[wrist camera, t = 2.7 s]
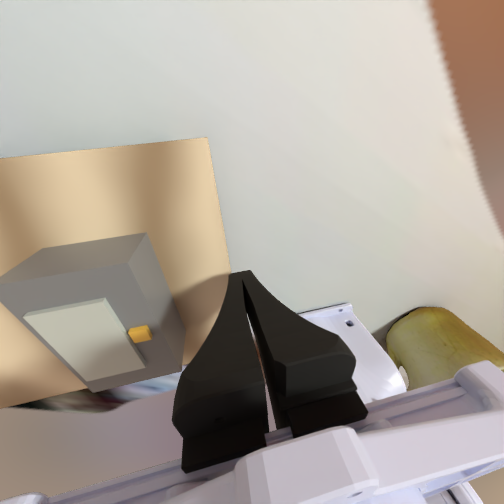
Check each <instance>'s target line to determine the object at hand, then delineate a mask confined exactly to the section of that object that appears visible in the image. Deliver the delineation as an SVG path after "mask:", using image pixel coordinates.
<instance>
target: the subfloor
mask: <svg viewBox="0 0 504 504" xmlns="http://www.w3.org/2000/svg"><path fill="white" fill-rule="evenodd" d="M145 232H147V234H148V236H149V239H150V241H151V244H152V246H153V249H154V251H155V254H156V257H157V259H158V262H159V264H160V267H161V269H162V272H163V274H164V277H165V279H166V282H167V284H168V287H169V289H170V292H171V294H172V297H173V299H174V302H175V304H176V307H177V309H178V312H179V314H180V317H181V319H182V322H183V324H184V327H185V329H186V334H185V344H184V353H183V362H182V365H185V364H189V363H190V362H191V360H192V359H193V358H194V356H195V355H196V353H197V352H198V350H199V349H200V347H201V346H202V344H203V343H204V341H205V340H206V338H207V336H208V334H209V333H210V331H211V329H212V327H213V325H214V323H215V321H216V319H217V317H218V314H219V312H220V309H221V307H222V304H223V301H224V298H225V294H226V290H227V286H228V278H229V277H228V276H229V274H231V268H230V262H229V257H228V251H227V245H226V240H225V234H224V228H223V223H222V217H221V211H220V206H219V200H218V194H217V189H216V183H215V177H214V172H213V166H212V160H211V154H210V149H209V143H208V137H205V138H195V139H186V140H176V141H167V142H157V143H147V144H137V145H128V146H118V147H108V148H98V149H88V150H79V151H69V152H59V153H49V154H39V155H30V156H20V157H10V158H0V277H1V276H2V275H4V274H5V273H7V272H8V271H9V270H11V269H12V268H14V267H15V266H17V265H18V264H20V263H21V262H23V261H24V260H26V259H27V258H29V257H30V256H32V255H33V254H35V253H36V252H38V251H39V250H40V249H42V248H48V247H54V246H61V245H67V244H74V243H80V242H87V241H93V240H99V239H106V238H112V237H119V236H125V235H132V234H138V233H145ZM85 388H88V387H87V386H86V385H85V384H84V383H83V382H82V381H81V380H80V379H79V378H77V377H76V376H75V375H74V374H73V373H72V372H71V371H70V370H69V369H68V368H67V367H66V366H65V365H64V364H63V363H62V362H61V361H60V360H59V359H58V358H57V357H56V356H55V355H54V354H53V353H52V352H51V351H50V350H49V349H48V348H47V347H46V346H45V345H44V344H43V343H42V342H41V341H40V340H39V339H38V338H37V337H36V336H35V335H34V334H33V333H31V332H30V331H29V330H28V329H27V328H26V327H25V326H24V325H23V324H22V323H21V322H20V321H19V320H18V319H17V318H16V317H15V316H14V315H13V314H12V313H11V312H10V311H9V310H8V309H7V308H6V307H5V306H4V305H3V304H2V303H1V302H0V409H1V408H5V407H10V406H14V405H18V404H22V403H26V402H31V401H35V400H39V399H43V398H47V397H51V396H56V395H60V394H64V393H68V392H72V391H76V390H81V389H85Z"/></svg>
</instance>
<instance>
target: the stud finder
mask: <svg viewBox="0 0 504 504" xmlns="http://www.w3.org/2000/svg"><path fill="white" fill-rule="evenodd" d="M0 302H1V303H2V304H3V305H4V306H5V307H6V308H7V309H8V310H9V311H10V312H11V313H12V314H13V315H14V316H15V317H16V318H17V319H18V320H19V321H20V322H21V323H22V324H23V325H24V326H25V327H26V328H27V329H28V330H29V331H30V332H31V333H33V334H34V335H35V336H36V337H37V338H38V339H39V340H40V341H41V342H42V343H43V344H44V345H45V346H46V347H47V348H48V349H49V350H50V351H51V352H52V353H53V354H54V355H55V356H56V357H57V358H58V359H59V360H60V361H61V362H62V363H63V364H64V365H65V366H66V367H67V368H68V369H69V370H70V371H71V372H72V373H73V374H74V375H75V376H76V377H77V378H79V379H80V380H81V381H82V382H83V383H84V384H85V385H86V386H87V387H88V388H89V389H90V390H91V391H92V392H93V393H94V392H98V391H102V390H106V389H111V388H115V387H119V386H123V385H127V384H131V383H135V382H139V381H144V380H148V379H152V378H156V377H160V376H164V375H168V374H172V373H176V372H181V371H182V362H183V353H184V344H185V334H186V329H185V327H184V324H183V322H182V319H181V317H180V314H179V312H178V309H177V307H176V304H175V302H174V299H173V297H172V294H171V292H170V289H169V287H168V284H167V282H166V279H165V277H164V274H163V272H162V269H161V267H160V264H159V262H158V259H157V257H156V254H155V251H154V249H153V246H152V244H151V241H150V239H149V236H148V234H147V232H145V233H138V234H132V235H125V236H119V237H112V238H106V239H99V240H93V241H87V242H80V243H74V244H67V245H61V246H54V247H48V248H42V249H40V250H39V251H38V252H36V253H35V254H33V255H32V256H30V257H29V258H27V259H26V260H24V261H23V262H21V263H20V264H18V265H17V266H15V267H14V268H12V269H11V270H9V271H8V272H7V273H5V274H4V275H2V276H1V277H0Z"/></svg>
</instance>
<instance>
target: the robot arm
mask: <svg viewBox="0 0 504 504" xmlns="http://www.w3.org/2000/svg"><path fill="white" fill-rule="evenodd" d="M228 277H229V278H228V286H227V290H226V294H225V298H224V301H223V304H222V307H221V309H220V312H219V314H218V317H217V319H216V321H215V323H214V325H213V327H212V329H211V331H210V333H209V334H208V336H207V338H206V340H205V341H204V343H203V344H202V346H201V347H200V349H199V350H198V352H197V353H196V355H195V356H194V358H193V359H192V360H191V362H190V363H189V364H188V366H187V367H186V368H185V370H184V371H183V372H182V374H181V376H180V380H179V383H178V386H177V390H176V395H175V399H174V406H173V416H172V422H173V425H174V426H175V427H176V429H177V430H178V432H179V433H180V434H181V436H182V437H183V449H182V450H183V451H182V458H181V459H177V460H174V461H171V462H167V463H164V464H161V465H157V466H154V467H151V468H147V469H144V470H140V471H137V472H133V473H130V474H127V475H123V476H120V477H117V478H113V479H110V480H106V481H103V482H100V483H96V484H93V485H90V486H86V487H83V488H79V489H76V490H73V491H70V492H66V493H62V494H59V495H56V496H52V497H49V498H48V497H47V496H46V495H45V494H42V493H38V492H32V493H25V494H21V495H18V496H14V497H11V498H8V499H4V500H1V501H0V504H483V502H482V501H481V499H480V498H479V496H478V495H477V494H476V492H475V491H474V489H473V488H472V487H471V485H470V484H469V483H468V481H470V480H472V479H475V478H477V477H479V476H482V475H485V474H487V473H490V472H492V471H495V470H498V469H500V468H503V467H504V372H503V371H501V370H500V369H499V368H498V367H496V366H495V365H494V364H492V363H491V362H490V361H488V360H484V361H481V362H477V363H474V364H470V365H467V366H464V367H462V368H461V369H459V370H458V371H457V372H456V374H455V375H454V378H451V379H448V380H444V381H441V382H438V383H434V384H431V385H428V386H424V387H421V388H417V389H414V390H411V391H407V390H406V386H405V384H404V381H403V379H402V377H401V374H400V372H399V371H398V369H397V367H396V365H395V364H394V362H393V361H392V359H391V358H390V357H389V356H388V354H387V353H386V352H385V351H384V350H383V348H382V347H381V346H380V345H379V344H378V342H377V341H376V340H375V339H374V338H373V336H372V335H371V334H370V333H369V332H368V330H367V329H366V328H365V327H364V325H363V324H362V323H361V322H360V321H359V319H358V318H357V317H356V316H355V315H354V313H353V312H352V309H353V306H352V305H351V304H350V303H346V304H342V305H337V306H333V307H328V308H324V309H320V310H315V311H311V312H306V313H302V314H296V313H295V312H293V311H292V310H290V309H289V308H288V307H286V306H285V305H284V304H282V303H281V302H280V301H279V300H277V299H276V298H275V297H274V296H273V295H272V294H271V293H270V292H269V291H268V290H267V289H266V288H265V287H264V286H263V285H262V284H261V283H260V282H259V281H258V279H257V278H256V277H255V276H254V274H253V273H252V271H250V270H247V271H242V272H236V273H231V274H229V276H228ZM247 314H248V317H249V320H250V323H251V326H252V329H253V332H254V335H255V338H256V341H257V345H258V348H259V352H260V356H261V361H262V365H263V369H264V374H265V378H266V383H267V387H268V392H269V396H270V401H271V405H272V410H273V415H274V419H275V423H276V428H277V430H275V431H272V432H269V425H268V411H267V401H266V392H265V383H264V378H263V374H262V370H261V366H260V362H259V359H258V355H257V352H256V348H255V344H254V341H253V337H252V333H251V329H250V326H249V322H248V318H247Z"/></svg>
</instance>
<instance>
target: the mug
mask: <svg viewBox="0 0 504 504" xmlns="http://www.w3.org/2000/svg"><path fill="white" fill-rule="evenodd" d="M386 344H387V352H388V355H389V357H390V358H391V359H392V361H393V362H394V364H395V365H396V367H397V369H398V371H399V367H400V366H403V368H404V369H405V371H406V373H407V375H408V379H409V386H408V389H406V390H407V391H411V390H414V389H417V388H421V387H424V386H428V385H431V384H434V383H438V382H441V381H444V380H448V379H451V378H454V375H455V374H456V372H457V371H458V370H459V369H461V368H462V367H464V366H467V365H470V364H474V363H477V362H481V361H484V360H488V361H490V362H491V363H492V364H494V365H495V366H496V367H498V368H499V369H500V370H501V371H503V372H504V353H503V352H501V351H500V350H499V349H498V348H496V347H495V346H494V345H493V344H492V343H490V342H489V341H488V340H486V339H485V338H484V337H482V336H481V335H480V334H478V333H477V332H476V331H474V330H473V329H472V328H470V327H469V326H468V325H466V324H465V323H464V322H463V321H462V320H461V319H459V318H458V317H457V316H456V315H454V314H453V313H452V312H450V311H449V310H447V309H444V308H441V307H440V308H439V307H422V308H418V309H416V310H415V311H413V312H410V313H409V314H408V315H407V316H405V317H404V318H402V319H400V320H399V321H397V322H396V323H394V324H393V326H392V327H391V329H390V331H389V332H388V334H387V337H386Z"/></svg>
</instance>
